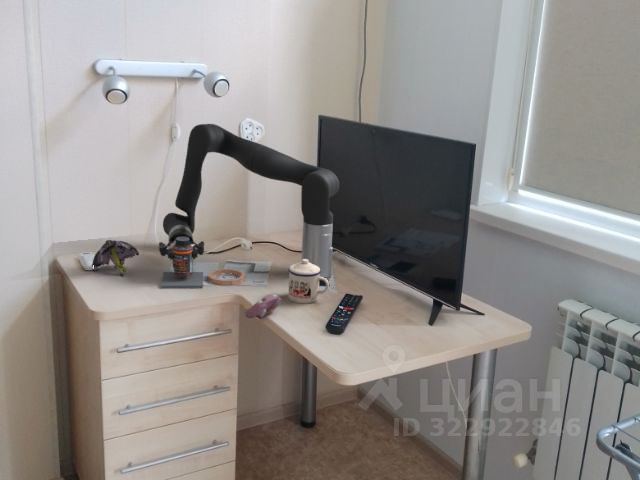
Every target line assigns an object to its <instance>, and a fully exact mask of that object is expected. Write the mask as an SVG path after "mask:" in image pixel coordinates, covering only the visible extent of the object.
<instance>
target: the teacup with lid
mask: <svg viewBox="0 0 640 480" xmlns="http://www.w3.org/2000/svg"><path fill="white" fill-rule="evenodd" d="M301 260H302V262H301V261H300V262H297V263H294V264H291V265H290V266H289V267H288V273H289V274H288V299H289V300H290V301H292V302H295V303H297V304H311V303H314V302H317V301H318V299H319V295H323V294H325V293H326V292H327V291H328V289H329V287H330V282H329V280H328V278H327V277H326V278H324V277H319V276H320V272H321V271H320V268H319V267H318V266H316V265H313V264H311V263H309V261H308V260H307V259H302V258H301ZM320 281H323V282H324V283H325V288H324V289H323V290H320Z"/></svg>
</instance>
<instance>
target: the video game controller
mask: <svg viewBox="0 0 640 480" xmlns="http://www.w3.org/2000/svg"><path fill="white" fill-rule="evenodd" d="M282 301H283V299H282V298H281V297H279V295H276V293H274V294H273V295H264V296H263V297H262V298H261V299H260V300H258V301H257V302H256V303H254V304H253V305H252V306H251V307H248V308H247V310H245V312H244V313H245V318H248V319H253V318H255V317H259V318H261V319H262V318H263V317H265V316H266V314H267V315H271V314H272V313H273V312H274V311H275V310H276V309H277V308H278V307H279V306H280V305H281V303H282Z"/></svg>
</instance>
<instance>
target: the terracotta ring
mask: <svg viewBox="0 0 640 480" xmlns="http://www.w3.org/2000/svg"><path fill="white" fill-rule="evenodd" d="M222 273H232V274H231V275H234V274H237V275H236V276H238V275H239V276H240V277H239V276H238V277H237V278H233V279H232V278H231V279H220V278H216V277H215V276H219V275H222ZM245 274H246V273H245V272H244V271H242V270H240V269H235V268H217V269H213V270H211V271H209V272H208V273H207V281H209V282H210V283H212V284H214V285H219V286H235V285H238V284H241V283H243V282H244V281H245V279H246V277H245V276H246V275H245Z"/></svg>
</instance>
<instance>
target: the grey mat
mask: <svg viewBox="0 0 640 480" xmlns="http://www.w3.org/2000/svg"><path fill="white" fill-rule="evenodd" d="M203 285H204V271H193V273H192V275H190V276H188V277H177V276H175V275H173V271H163V274H162V278H161V282H160V289H203V288H204V286H203Z"/></svg>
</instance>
